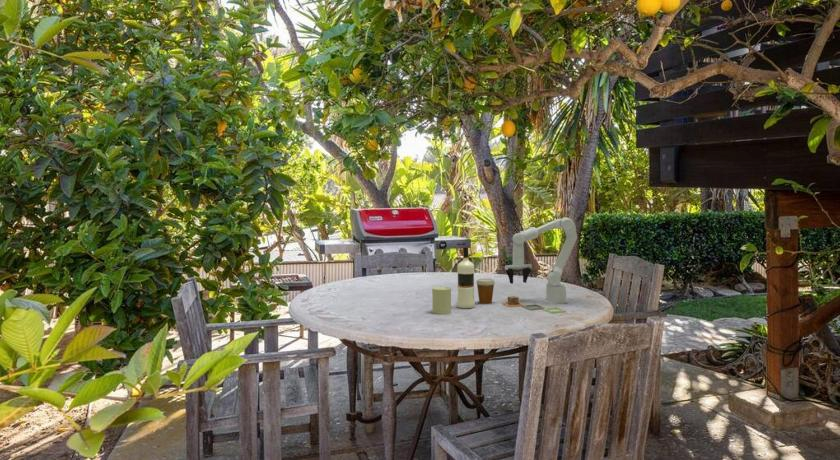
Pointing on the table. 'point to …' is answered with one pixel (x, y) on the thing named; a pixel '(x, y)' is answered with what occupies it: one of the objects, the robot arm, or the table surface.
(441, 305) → the can
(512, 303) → the letter cube
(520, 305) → the terracotta dish
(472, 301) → the vodka
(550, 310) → the sage dish
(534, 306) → the slate dish
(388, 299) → the table surface
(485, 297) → the disposable coffee cup
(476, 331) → the table surface
